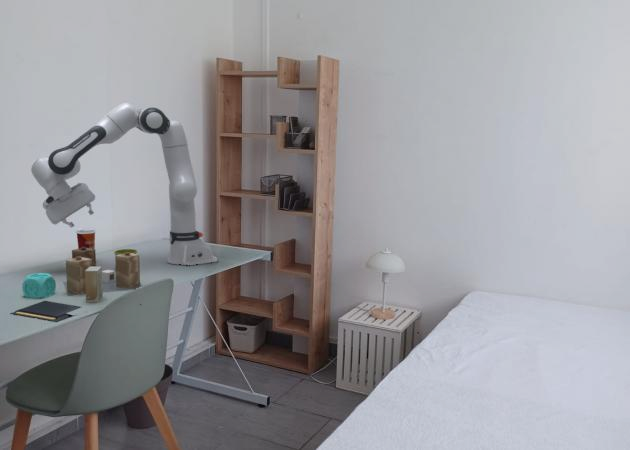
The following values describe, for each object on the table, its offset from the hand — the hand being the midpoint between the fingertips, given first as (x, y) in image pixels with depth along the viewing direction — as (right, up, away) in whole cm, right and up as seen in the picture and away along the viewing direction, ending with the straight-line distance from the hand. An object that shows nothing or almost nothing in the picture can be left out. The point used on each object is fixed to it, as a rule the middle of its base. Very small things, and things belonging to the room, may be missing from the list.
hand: (82, 220), depth 250 cm
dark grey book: (+8, -32, -48) cm, 58 cm away
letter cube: (+15, -24, -13) cm, 31 cm away
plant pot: (+16, -22, +7) cm, 28 cm away
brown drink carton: (+4, -24, -7) cm, 25 cm away
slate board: (+15, -26, -19) cm, 35 cm away
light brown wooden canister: (+10, -26, -28) cm, 40 cm away
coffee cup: (-6, -19, +21) cm, 29 cm away
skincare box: (+18, -29, -37) cm, 50 cm away
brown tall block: (+25, -25, -19) cm, 40 cm away
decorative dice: (-3, -28, -33) cm, 43 cm away
